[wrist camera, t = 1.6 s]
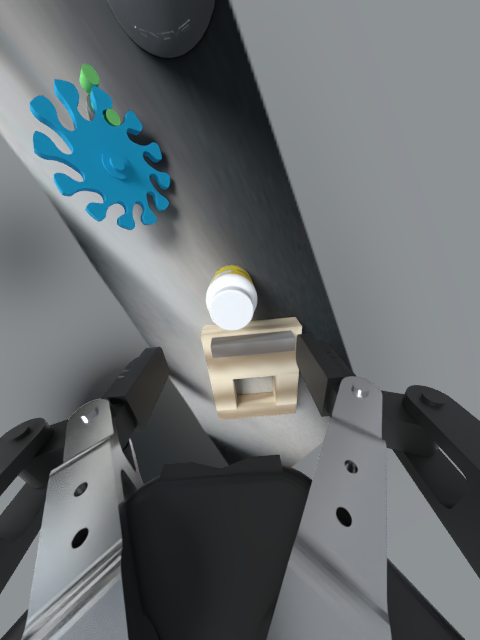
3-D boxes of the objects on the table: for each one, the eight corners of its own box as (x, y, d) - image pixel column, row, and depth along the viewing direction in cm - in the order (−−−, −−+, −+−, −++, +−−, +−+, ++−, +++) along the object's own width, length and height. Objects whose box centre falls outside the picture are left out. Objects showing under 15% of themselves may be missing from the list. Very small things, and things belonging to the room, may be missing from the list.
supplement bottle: (257, 292, 25) (270, 324, 17) (223, 308, 26) (219, 346, 18) (241, 256, 23) (246, 270, 14) (205, 274, 24) (188, 299, 15)
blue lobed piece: (179, 232, 20) (57, 220, 14) (157, 237, 24) (53, 230, 17) (164, 103, 17) (-11, -2, 10) (141, 133, 21) (4, 73, 14)
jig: (203, 325, 27) (198, 343, 23) (295, 316, 27) (307, 333, 23) (220, 405, 35) (218, 430, 31) (291, 399, 35) (299, 423, 31)
